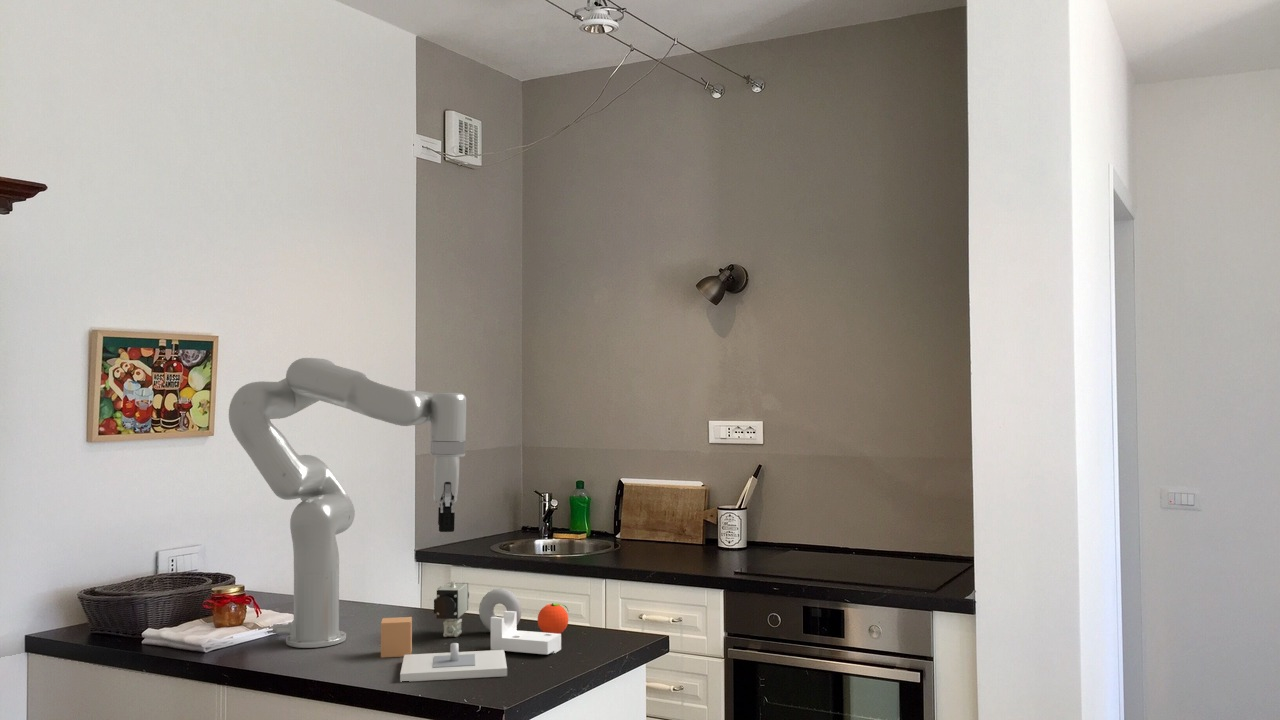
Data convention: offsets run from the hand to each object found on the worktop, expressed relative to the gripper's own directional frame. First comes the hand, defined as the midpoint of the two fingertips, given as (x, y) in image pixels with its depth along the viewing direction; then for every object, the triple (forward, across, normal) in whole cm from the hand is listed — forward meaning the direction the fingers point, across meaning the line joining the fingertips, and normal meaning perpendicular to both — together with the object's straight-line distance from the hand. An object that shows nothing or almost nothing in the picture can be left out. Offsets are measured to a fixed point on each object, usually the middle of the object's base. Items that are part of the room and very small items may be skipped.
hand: (446, 528), depth 216 cm
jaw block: (+25, +5, -10) cm, 27 cm away
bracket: (+25, +9, +17) cm, 32 cm away
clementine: (+25, -4, +25) cm, 35 cm away
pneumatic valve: (+25, -8, +2) cm, 27 cm away
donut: (+25, -8, +13) cm, 29 cm away
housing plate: (+25, +20, +2) cm, 32 cm away
